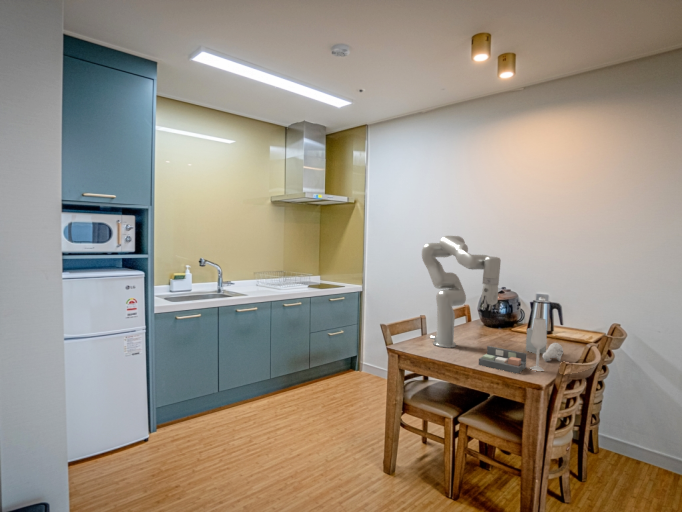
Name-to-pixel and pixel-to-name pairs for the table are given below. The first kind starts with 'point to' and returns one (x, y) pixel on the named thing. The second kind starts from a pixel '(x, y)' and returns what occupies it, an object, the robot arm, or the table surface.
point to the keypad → (504, 354)
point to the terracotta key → (514, 361)
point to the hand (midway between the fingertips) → (487, 317)
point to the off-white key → (501, 360)
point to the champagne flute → (538, 339)
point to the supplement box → (529, 345)
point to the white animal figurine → (553, 352)
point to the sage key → (488, 357)
